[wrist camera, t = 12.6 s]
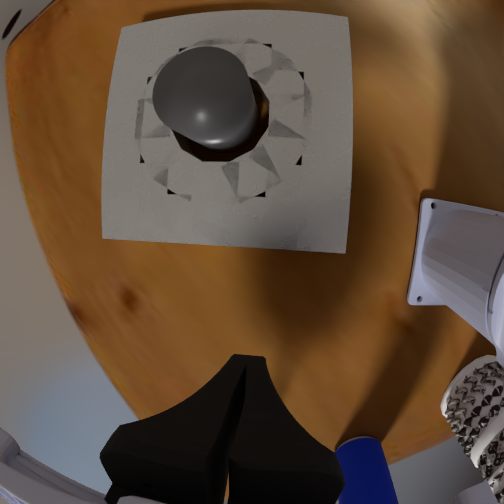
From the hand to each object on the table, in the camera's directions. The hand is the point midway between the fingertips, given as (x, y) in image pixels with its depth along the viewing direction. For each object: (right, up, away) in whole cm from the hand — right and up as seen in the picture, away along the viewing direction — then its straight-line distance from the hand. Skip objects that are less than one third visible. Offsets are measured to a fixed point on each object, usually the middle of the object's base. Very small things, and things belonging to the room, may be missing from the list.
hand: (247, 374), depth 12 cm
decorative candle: (+23, -9, +10) cm, 27 cm away
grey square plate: (-2, +14, +7) cm, 16 cm away
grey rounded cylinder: (-2, +14, +7) cm, 16 cm away
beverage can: (+11, -15, +12) cm, 22 cm away
